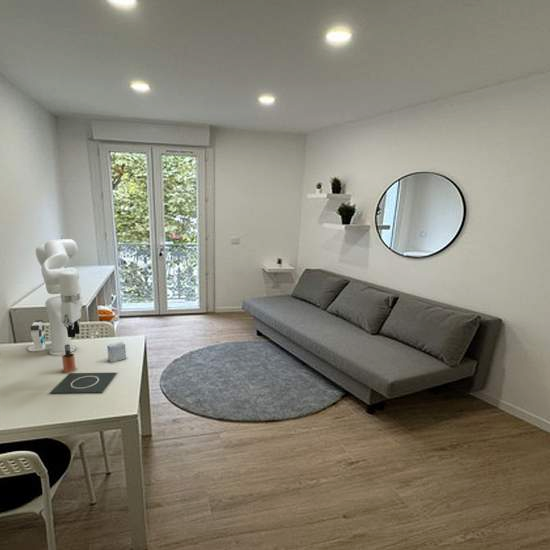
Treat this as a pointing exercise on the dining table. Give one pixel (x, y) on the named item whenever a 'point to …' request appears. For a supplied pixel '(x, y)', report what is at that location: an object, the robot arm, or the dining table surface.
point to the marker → (67, 351)
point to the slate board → (83, 383)
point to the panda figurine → (38, 336)
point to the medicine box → (116, 352)
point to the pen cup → (68, 363)
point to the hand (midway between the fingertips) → (73, 334)
